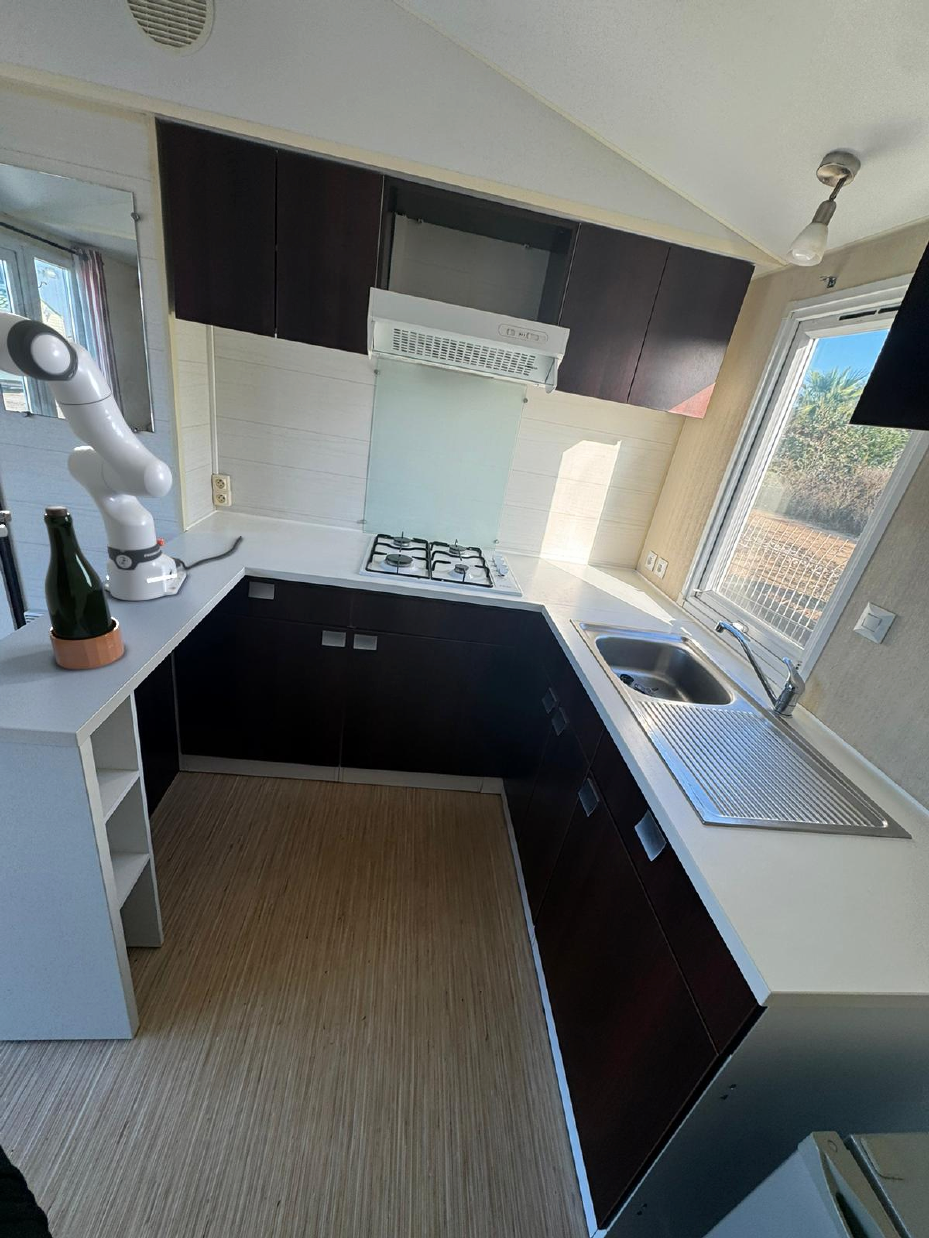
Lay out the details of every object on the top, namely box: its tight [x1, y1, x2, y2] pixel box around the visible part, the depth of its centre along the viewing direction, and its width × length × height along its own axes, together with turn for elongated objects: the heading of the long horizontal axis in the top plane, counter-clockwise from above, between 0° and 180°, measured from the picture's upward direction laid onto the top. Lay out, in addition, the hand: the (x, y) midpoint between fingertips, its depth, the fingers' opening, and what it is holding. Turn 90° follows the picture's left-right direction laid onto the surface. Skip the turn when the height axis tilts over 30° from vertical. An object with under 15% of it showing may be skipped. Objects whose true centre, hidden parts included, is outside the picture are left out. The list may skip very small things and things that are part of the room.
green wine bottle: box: [43, 505, 114, 641], centre depth 101 cm, size 10×10×33 cm
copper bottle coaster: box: [48, 616, 125, 671], centre depth 107 cm, size 12×12×7 cm
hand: (9, 523), depth 91 cm, fingers open, 8 cm apart
